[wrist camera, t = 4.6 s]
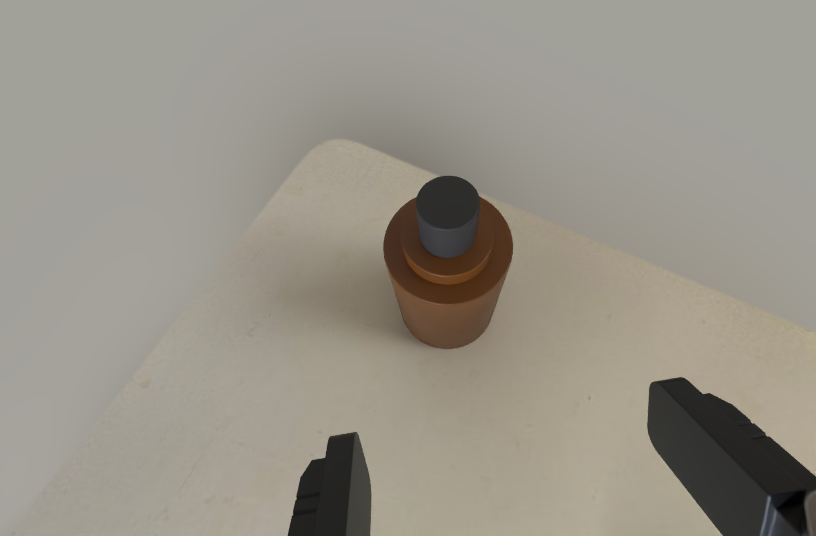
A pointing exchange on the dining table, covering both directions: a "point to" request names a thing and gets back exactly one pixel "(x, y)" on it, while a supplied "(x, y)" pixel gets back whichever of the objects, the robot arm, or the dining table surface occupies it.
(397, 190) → the dining table surface
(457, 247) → the bottle
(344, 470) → the robot arm
